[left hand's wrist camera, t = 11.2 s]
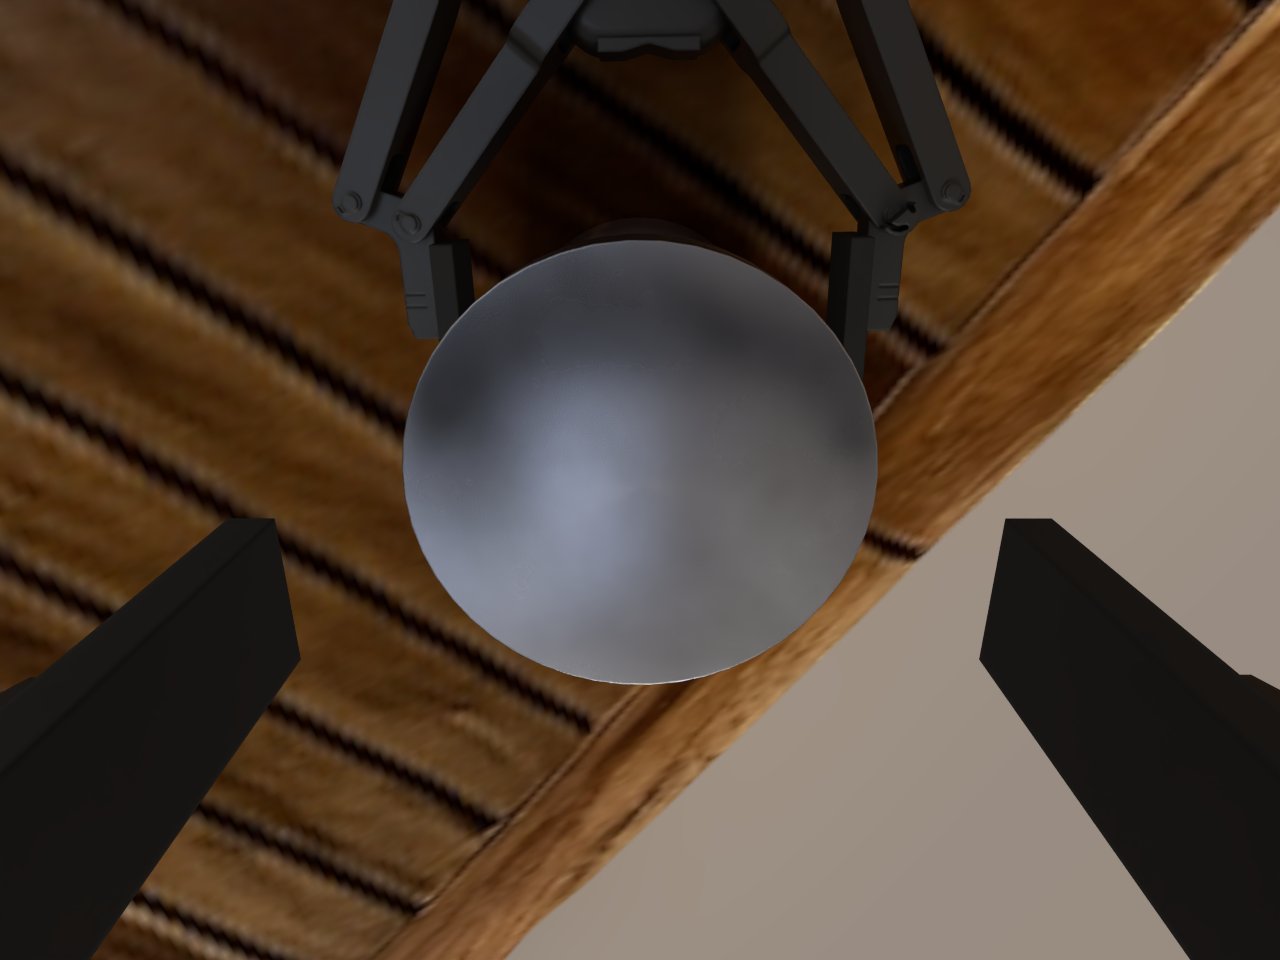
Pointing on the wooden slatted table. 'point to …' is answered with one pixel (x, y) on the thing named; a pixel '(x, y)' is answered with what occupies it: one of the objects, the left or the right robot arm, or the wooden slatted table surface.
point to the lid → (640, 460)
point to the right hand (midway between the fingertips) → (653, 424)
